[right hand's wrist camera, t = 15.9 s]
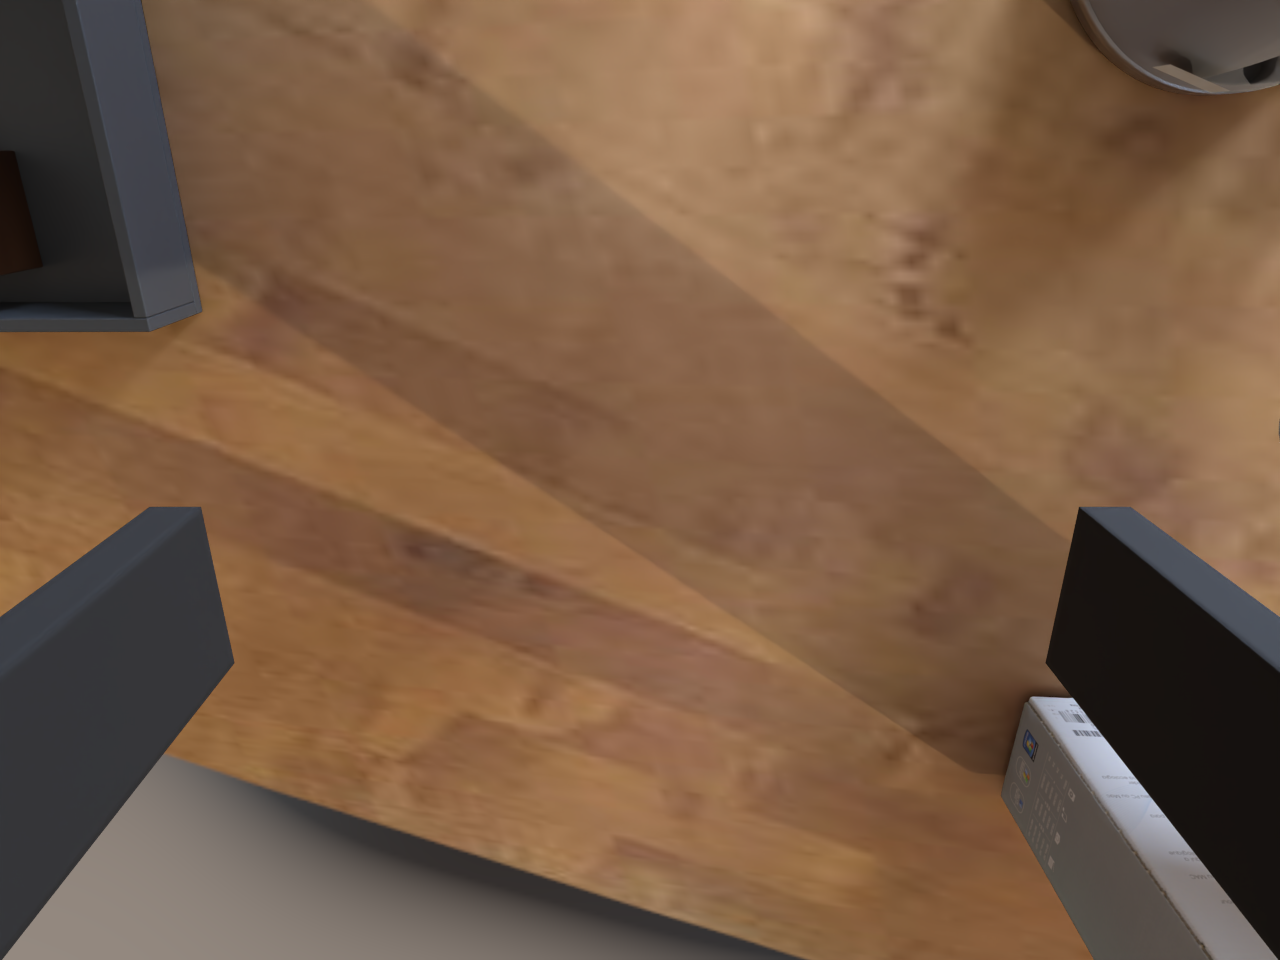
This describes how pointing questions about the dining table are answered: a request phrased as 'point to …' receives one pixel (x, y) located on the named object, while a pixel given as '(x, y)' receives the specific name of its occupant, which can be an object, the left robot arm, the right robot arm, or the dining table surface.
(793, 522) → the dining table surface
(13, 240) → the walnut cube
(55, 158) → the grey tray
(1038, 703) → the hard drive box
